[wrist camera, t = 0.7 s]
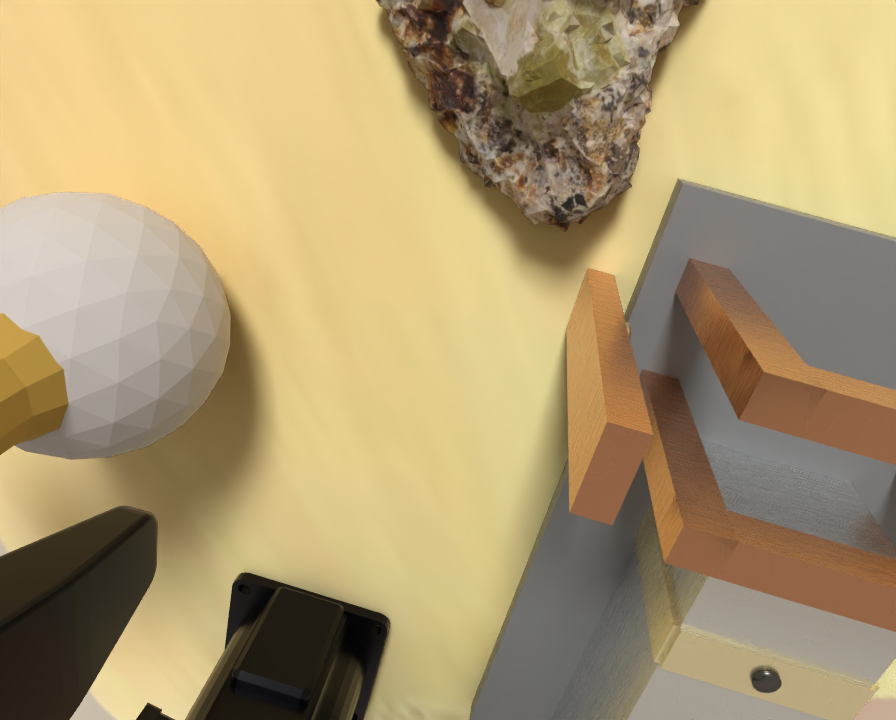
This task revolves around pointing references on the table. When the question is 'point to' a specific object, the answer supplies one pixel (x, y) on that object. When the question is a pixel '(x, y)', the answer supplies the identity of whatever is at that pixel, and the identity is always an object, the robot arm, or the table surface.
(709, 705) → the grey long block
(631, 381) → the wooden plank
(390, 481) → the table surface
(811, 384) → the angle bracket
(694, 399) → the board
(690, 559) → the collar
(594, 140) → the mineral rock
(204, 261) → the white faceted ball
